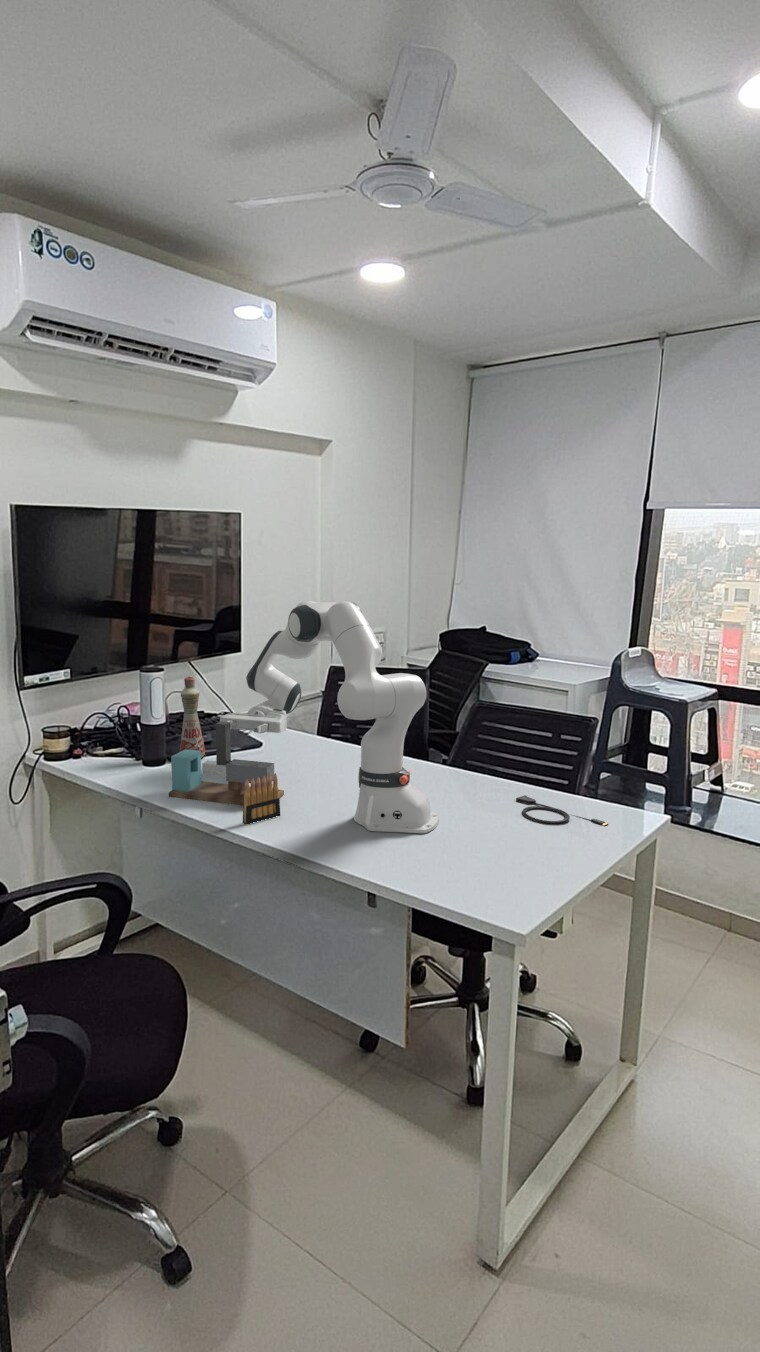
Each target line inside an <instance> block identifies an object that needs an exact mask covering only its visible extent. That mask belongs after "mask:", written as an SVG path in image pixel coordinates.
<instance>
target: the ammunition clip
mask: <svg viewBox="0 0 760 1352" xmlns="http://www.w3.org/2000/svg"><path fill="white" fill-rule="evenodd" d="M278 784H279V781H278V775H277V773H276V772H274V778H273V781H272V778H271V775H270V774H269V776H268V785H267V786H266V778H265V776H263V779H262V789H261V782H260V778H259V777H258V778H257V782H256V792H255V782H254V779H253V778H252V780H251V783H249V782H248V780H246V782H245V793H244V804H243V806H242V823H243V824H244V825H246V824H249V825H251V824H250V823H252V824H254V823H253V822H256V823H258V822H257V821H260V822H262V821H261V820H264V821H266V820H265V819H267V820H270V819H269V818H271V819H274V818H273V817H275V818H277V817H276V816H279V817H281V803H280V802H281V801H280V799H281V798H279V790H280V789H279V785H278ZM249 786H250V787H251V788H250V790H249Z"/></svg>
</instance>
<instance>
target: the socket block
mask: <svg viewBox="0 0 760 1352" xmlns="http://www.w3.org/2000/svg"><path fill="white" fill-rule="evenodd" d="M170 761H171V762H170V764H171V765H170V766H171V790H176V791H185V792H188V791H190V790H192V789H193V788H195V787H197V786H198V785H200V784H201V781H202V759H201V751H196V750H186V749H185V750H183V751H181V752H180V751H179V752H177V753H175V754H173V755H171V756H170Z"/></svg>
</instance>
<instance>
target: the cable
mask: <svg viewBox="0 0 760 1352" xmlns="http://www.w3.org/2000/svg"><path fill="white" fill-rule="evenodd" d="M515 801H516V802H517V803H521V804H523V805H524V804H525V805H528V806H526V807H525V808H523V810H522V811H521V815H522V816H523V817H524V818H526V819H528V820H531V821H534V822H537V823H540V824H546V825H562V824H566V823H568V822H569V820H570V818H571V817H570V816H573V817H576V818H580V819H582V820H586V821H589V822H591V823H592V824H596V825H599V826H603V827H606V826H608V825H609V823H608V822H605V821H604V820H600V819H597V818H591V819H590V818H586V817H581V816H578V815H573V814H569V813H567V812H566V811H564V810H562V809H559V808H556V807H553V806H549V805H545V804H542V803H538V802H537V800H535V799H534V798H533V797H530V796H527V795H526V794H525V795H522V796H519V797H516V798H515ZM529 805H531V806H529ZM535 810H537V811H538V810H540V811H549V812H553V813H557V814H559V815H561V816H562V817H563V819H560V820H546V819H545V820H544V819H540V818H536V817H533V816H532V815H531V816H530V815H529V814H528V813H527V812H530V811H535Z"/></svg>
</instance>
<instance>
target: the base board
mask: <svg viewBox="0 0 760 1352" xmlns="http://www.w3.org/2000/svg"><path fill="white" fill-rule="evenodd" d="M266 786H267V785H266ZM250 788H251V785H249V790H250ZM261 789H262V785H261ZM255 792H256V784H255ZM244 793H245V783H242V782H233V781H227V783H221V782H212V781H211V782H209V781H205V780H204V781H203V780H201V784H200V785H198V786H197V787H195V788H193V789H192V790H190V791H188V792H185V791H176V790H172V789H171V790H170V791H168V798H173V799H180V800H181V799H182V800H189V801H190V800H191V801H198V802H205V803H216V804H222V805H223V804H225V805H233V806H242V807H243V804H244ZM283 795H284V796H285V790H284V789H279V798H280V799H281V798H282V797H284V796H283Z"/></svg>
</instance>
